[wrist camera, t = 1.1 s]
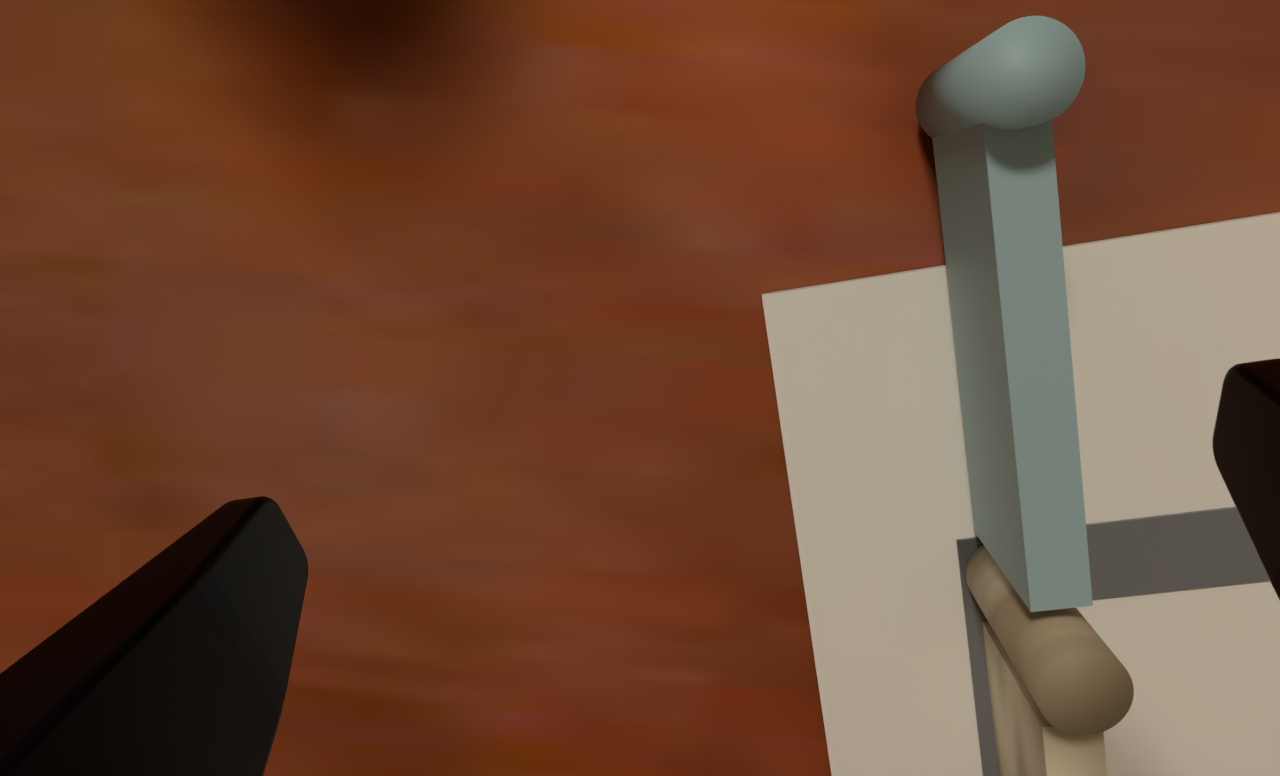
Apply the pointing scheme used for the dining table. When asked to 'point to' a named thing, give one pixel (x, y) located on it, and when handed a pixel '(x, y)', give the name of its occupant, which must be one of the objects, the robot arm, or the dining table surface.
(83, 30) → the dining table surface
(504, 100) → the dining table surface
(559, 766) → the dining table surface
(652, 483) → the dining table surface
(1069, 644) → the fence fixed
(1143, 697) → the card
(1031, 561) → the fence flap
